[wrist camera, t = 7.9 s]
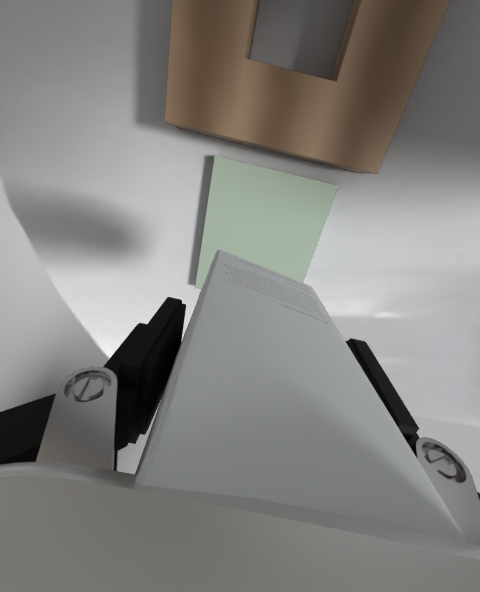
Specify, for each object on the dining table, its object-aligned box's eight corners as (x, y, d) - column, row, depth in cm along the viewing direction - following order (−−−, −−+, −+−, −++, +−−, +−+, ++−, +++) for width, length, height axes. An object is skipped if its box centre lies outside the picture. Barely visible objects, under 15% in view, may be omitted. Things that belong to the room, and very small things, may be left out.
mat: (335, 185, 24) (338, 185, 24) (292, 306, 31) (293, 310, 30) (216, 155, 24) (214, 155, 23) (196, 284, 30) (195, 287, 30)
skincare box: (194, 308, 15) (58, 638, 5) (219, 241, 13) (83, 539, 3) (284, 340, 16) (352, 685, 5) (320, 282, 14) (537, 638, 3)
